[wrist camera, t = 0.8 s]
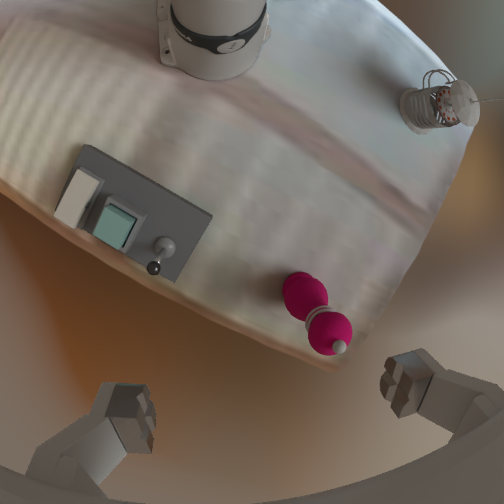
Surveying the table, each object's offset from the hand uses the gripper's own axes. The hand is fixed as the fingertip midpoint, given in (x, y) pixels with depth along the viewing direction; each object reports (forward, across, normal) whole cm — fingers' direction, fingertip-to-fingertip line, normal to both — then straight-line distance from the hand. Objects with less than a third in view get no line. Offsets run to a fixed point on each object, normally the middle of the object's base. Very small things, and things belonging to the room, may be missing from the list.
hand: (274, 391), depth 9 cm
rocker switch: (+35, +23, -4) cm, 42 cm away
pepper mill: (+40, -12, +14) cm, 44 cm away
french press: (+40, -37, -20) cm, 59 cm away
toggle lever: (+36, +10, +5) cm, 38 cm away
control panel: (+40, +15, -1) cm, 43 cm away
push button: (+35, +16, 0) cm, 38 cm away
